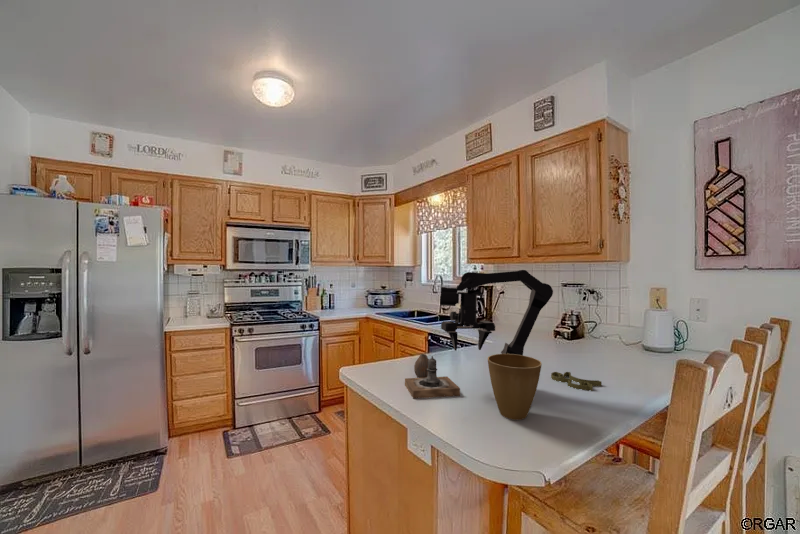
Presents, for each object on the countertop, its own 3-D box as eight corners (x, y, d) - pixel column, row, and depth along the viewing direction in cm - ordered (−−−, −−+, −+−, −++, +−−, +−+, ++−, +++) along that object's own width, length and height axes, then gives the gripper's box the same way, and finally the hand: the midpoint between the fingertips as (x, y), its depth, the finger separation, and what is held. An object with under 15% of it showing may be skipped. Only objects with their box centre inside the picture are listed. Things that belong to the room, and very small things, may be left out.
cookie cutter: (607, 388, 127) (607, 383, 127) (586, 393, 121) (586, 388, 121) (563, 375, 143) (563, 370, 143) (543, 379, 137) (543, 374, 137)
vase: (432, 380, 133) (432, 357, 133) (414, 379, 133) (414, 356, 133) (431, 374, 140) (431, 352, 140) (413, 374, 140) (414, 352, 140)
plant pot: (476, 410, 104) (477, 356, 104) (511, 401, 112) (512, 351, 112) (515, 431, 91) (515, 369, 91) (552, 419, 99) (553, 362, 99)
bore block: (447, 383, 129) (447, 376, 129) (459, 395, 116) (460, 388, 116) (404, 385, 126) (404, 378, 126) (413, 398, 113) (413, 390, 113)
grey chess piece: (435, 394, 117) (435, 358, 117) (420, 391, 120) (420, 356, 121) (443, 389, 122) (443, 355, 122) (428, 386, 125) (429, 353, 125)
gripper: (483, 304, 136) (482, 344, 136) (437, 304, 132) (436, 345, 132) (496, 307, 125) (495, 351, 125) (446, 307, 121) (445, 352, 121)
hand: (467, 350), depth 126 cm, fingers open, 9 cm apart
